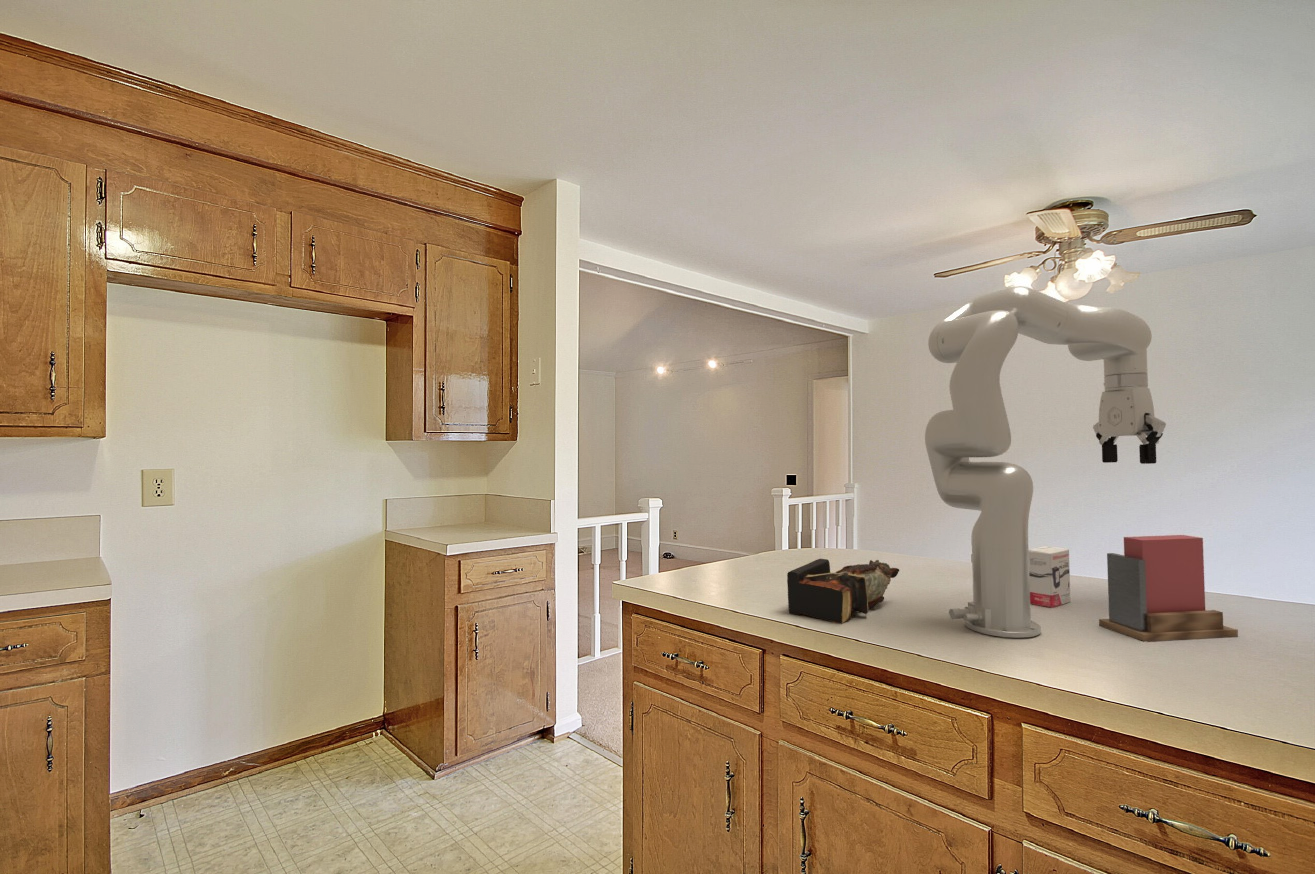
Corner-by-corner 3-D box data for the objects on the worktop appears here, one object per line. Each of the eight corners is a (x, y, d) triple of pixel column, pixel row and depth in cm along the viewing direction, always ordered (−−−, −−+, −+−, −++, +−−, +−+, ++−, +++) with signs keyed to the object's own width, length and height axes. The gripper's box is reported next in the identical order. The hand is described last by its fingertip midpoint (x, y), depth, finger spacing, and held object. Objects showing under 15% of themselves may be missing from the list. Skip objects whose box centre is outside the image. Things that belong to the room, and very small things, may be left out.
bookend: (783, 572, 132) (838, 544, 150) (789, 622, 132) (843, 589, 151) (848, 579, 122) (899, 548, 140) (854, 633, 122) (904, 596, 140)
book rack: (1144, 641, 109) (1143, 617, 109) (1099, 625, 119) (1098, 603, 119) (1238, 636, 111) (1237, 612, 111) (1185, 620, 121) (1184, 599, 121)
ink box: (1052, 608, 132) (1051, 552, 132) (1028, 603, 136) (1026, 549, 136) (1071, 602, 137) (1069, 548, 137) (1047, 597, 141) (1045, 545, 141)
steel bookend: (1141, 638, 111) (1138, 559, 111) (1109, 627, 118) (1106, 553, 118) (1147, 638, 111) (1145, 559, 111) (1115, 627, 118) (1112, 552, 118)
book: (1145, 629, 112) (1142, 540, 113) (1126, 622, 116) (1123, 537, 117) (1205, 625, 114) (1202, 537, 114) (1185, 619, 118) (1182, 534, 118)
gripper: (1078, 387, 143) (1081, 462, 143) (1144, 379, 126) (1147, 464, 125) (1109, 387, 144) (1111, 461, 143) (1178, 379, 126) (1181, 463, 126)
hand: (1128, 462), depth 134 cm, fingers open, 9 cm apart
